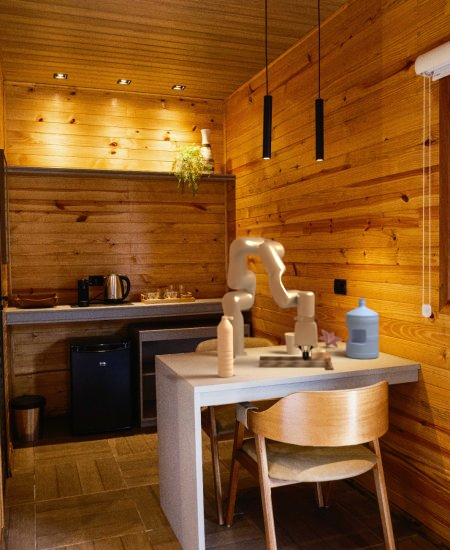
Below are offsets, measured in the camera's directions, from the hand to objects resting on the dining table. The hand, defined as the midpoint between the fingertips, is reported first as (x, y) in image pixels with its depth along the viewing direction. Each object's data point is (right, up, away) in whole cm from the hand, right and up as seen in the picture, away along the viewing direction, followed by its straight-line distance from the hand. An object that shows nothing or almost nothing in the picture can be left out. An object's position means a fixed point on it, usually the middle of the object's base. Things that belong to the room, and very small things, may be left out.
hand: (305, 360), depth 249 cm
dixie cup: (-2, -2, +32) cm, 32 cm away
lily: (+19, -1, +46) cm, 50 cm away
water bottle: (-35, -4, -17) cm, 39 cm away
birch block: (+5, -2, -1) cm, 6 cm away
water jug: (+30, -2, +22) cm, 38 cm away
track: (-4, -3, +1) cm, 5 cm away
